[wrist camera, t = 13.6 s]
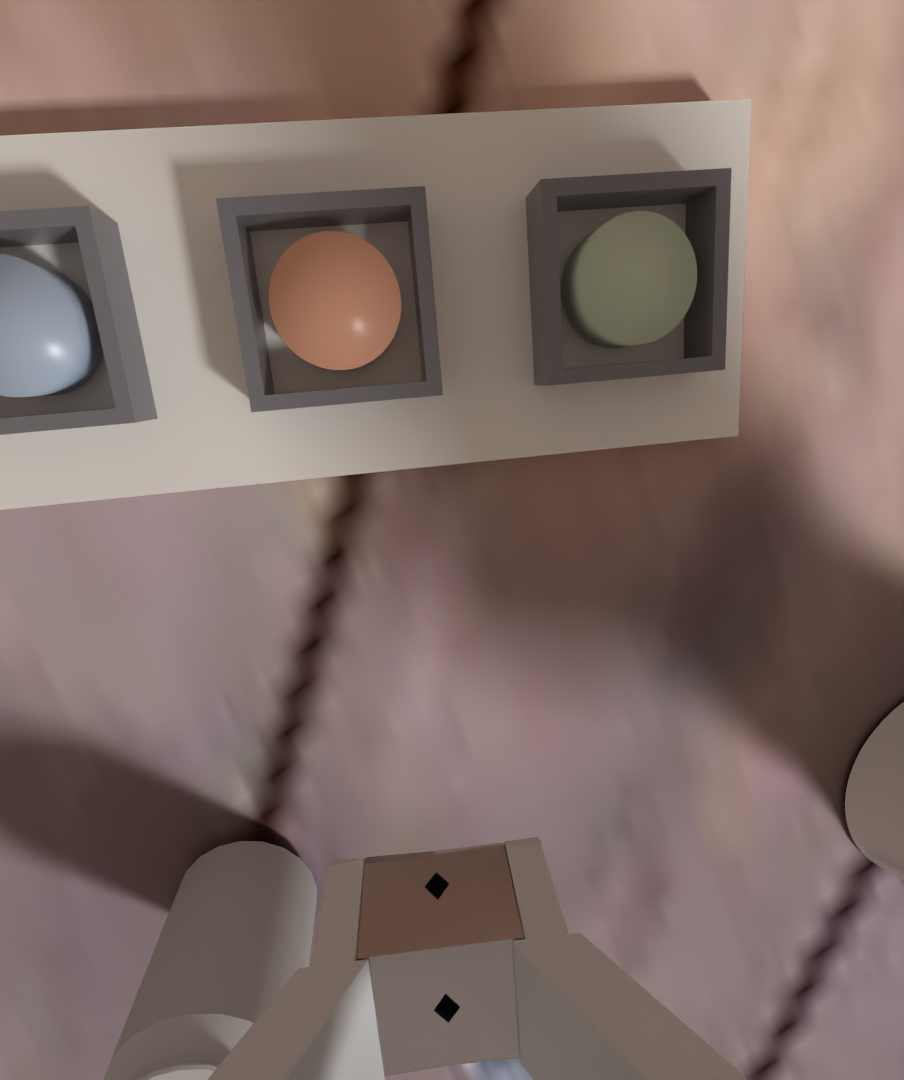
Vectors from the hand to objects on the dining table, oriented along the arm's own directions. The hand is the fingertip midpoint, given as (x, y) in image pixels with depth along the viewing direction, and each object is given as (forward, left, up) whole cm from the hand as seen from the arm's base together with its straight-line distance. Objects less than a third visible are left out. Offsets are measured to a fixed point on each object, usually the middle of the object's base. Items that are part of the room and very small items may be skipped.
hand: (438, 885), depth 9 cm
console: (+1, -10, -23) cm, 25 cm away
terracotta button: (+1, -10, -20) cm, 23 cm away
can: (+10, +20, -23) cm, 32 cm away
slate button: (+13, -10, -20) cm, 26 cm away
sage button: (-11, -10, -20) cm, 25 cm away
